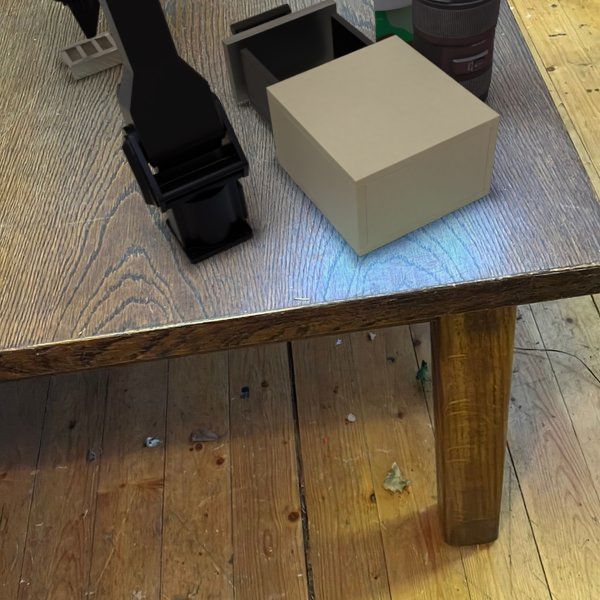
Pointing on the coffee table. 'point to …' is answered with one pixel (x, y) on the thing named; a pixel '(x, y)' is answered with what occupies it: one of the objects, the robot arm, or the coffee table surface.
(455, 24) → the camera lens
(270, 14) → the dark open box
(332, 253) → the coffee table surface
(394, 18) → the food container
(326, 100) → the tan cardboard box
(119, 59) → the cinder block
